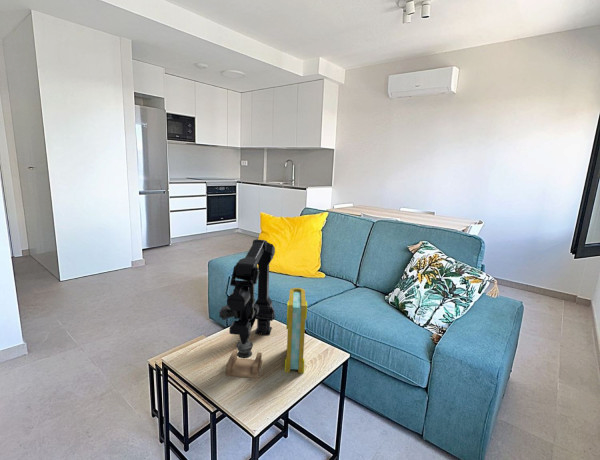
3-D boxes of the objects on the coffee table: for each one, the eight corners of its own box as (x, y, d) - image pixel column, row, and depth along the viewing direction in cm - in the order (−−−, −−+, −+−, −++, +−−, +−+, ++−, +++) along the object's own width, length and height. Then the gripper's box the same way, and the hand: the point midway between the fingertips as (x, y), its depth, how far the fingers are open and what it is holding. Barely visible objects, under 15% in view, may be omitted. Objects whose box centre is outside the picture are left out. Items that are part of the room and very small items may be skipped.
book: (303, 373, 115) (307, 305, 110) (284, 372, 115) (287, 305, 110) (303, 347, 131) (306, 288, 127) (286, 346, 131) (288, 287, 127)
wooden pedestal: (232, 360, 120) (232, 350, 120) (262, 362, 120) (262, 352, 119) (225, 375, 111) (225, 364, 111) (257, 377, 111) (257, 367, 110)
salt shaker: (232, 356, 113) (233, 324, 111) (241, 348, 118) (241, 317, 116) (248, 360, 111) (248, 327, 109) (256, 351, 117) (256, 320, 114)
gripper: (229, 287, 121) (229, 326, 123) (213, 308, 102) (213, 354, 105) (259, 289, 120) (258, 328, 123) (248, 310, 102) (247, 356, 105)
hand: (244, 340), depth 114 cm, fingers closed on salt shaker, 3 cm apart
